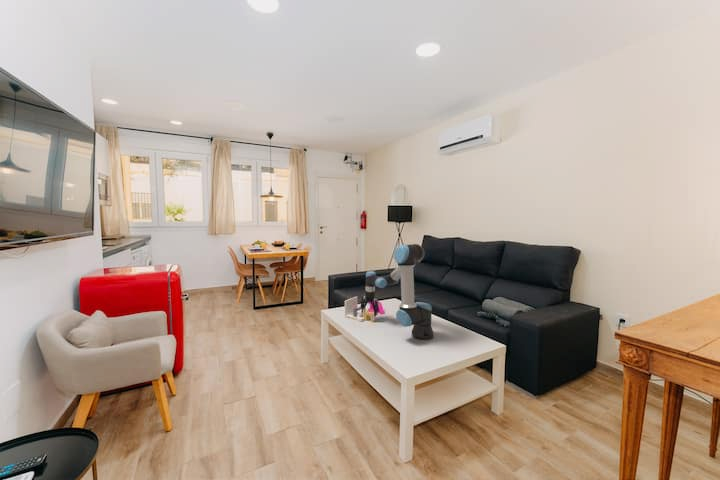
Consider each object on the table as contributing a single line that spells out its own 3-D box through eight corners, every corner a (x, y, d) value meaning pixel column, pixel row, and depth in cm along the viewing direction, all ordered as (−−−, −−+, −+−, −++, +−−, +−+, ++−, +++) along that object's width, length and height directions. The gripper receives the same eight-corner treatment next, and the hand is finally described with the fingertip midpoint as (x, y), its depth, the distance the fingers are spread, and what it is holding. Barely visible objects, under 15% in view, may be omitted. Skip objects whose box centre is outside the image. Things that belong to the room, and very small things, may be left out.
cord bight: (375, 321, 231) (375, 312, 231) (372, 322, 228) (372, 313, 228) (366, 319, 236) (366, 310, 235) (364, 320, 233) (364, 311, 233)
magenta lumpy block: (368, 311, 256) (368, 299, 255) (378, 309, 259) (378, 298, 258) (373, 315, 245) (373, 303, 244) (384, 314, 248) (384, 302, 247)
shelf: (372, 316, 243) (372, 299, 241) (361, 321, 230) (361, 304, 229) (356, 312, 253) (356, 296, 252) (344, 317, 240) (344, 300, 239)
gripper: (384, 292, 226) (383, 320, 229) (361, 287, 239) (361, 313, 242) (379, 294, 220) (378, 323, 223) (356, 289, 233) (355, 316, 236)
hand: (369, 318), depth 232 cm, fingers open, 9 cm apart
